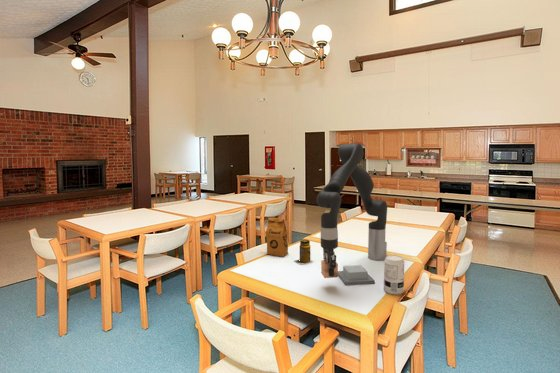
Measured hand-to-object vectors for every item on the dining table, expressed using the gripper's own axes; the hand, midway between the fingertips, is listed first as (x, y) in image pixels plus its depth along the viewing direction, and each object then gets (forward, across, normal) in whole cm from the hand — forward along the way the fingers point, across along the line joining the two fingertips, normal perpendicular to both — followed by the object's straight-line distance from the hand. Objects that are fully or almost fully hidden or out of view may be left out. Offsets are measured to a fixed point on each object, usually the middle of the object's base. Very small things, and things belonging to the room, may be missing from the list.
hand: (329, 273), depth 150 cm
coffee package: (+7, +52, +18) cm, 55 cm away
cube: (+1, 0, 0) cm, 1 cm away
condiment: (+8, +37, +5) cm, 38 cm away
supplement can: (+7, -7, -27) cm, 29 cm away
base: (+7, +9, -15) cm, 19 cm away
